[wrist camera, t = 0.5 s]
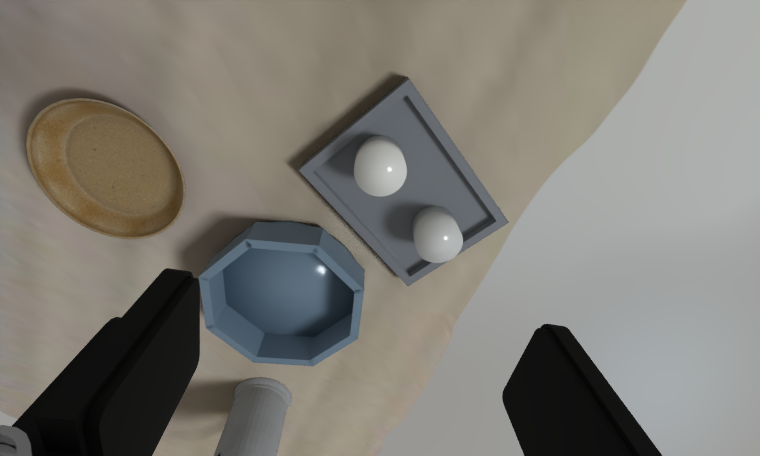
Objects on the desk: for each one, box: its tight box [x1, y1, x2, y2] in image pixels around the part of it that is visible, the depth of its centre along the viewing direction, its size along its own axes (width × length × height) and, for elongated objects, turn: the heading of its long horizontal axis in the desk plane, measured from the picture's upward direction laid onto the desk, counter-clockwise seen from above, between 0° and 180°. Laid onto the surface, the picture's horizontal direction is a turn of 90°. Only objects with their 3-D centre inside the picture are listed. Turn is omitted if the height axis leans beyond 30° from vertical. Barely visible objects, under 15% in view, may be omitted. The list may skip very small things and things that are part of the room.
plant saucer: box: [26, 98, 185, 239], centre depth 37 cm, size 15×15×3 cm
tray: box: [299, 77, 509, 286], centre depth 39 cm, size 14×19×2 cm
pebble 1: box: [354, 135, 407, 197], centre depth 36 cm, size 5×5×4 cm
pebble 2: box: [412, 206, 463, 263], centre depth 39 cm, size 5×5×4 cm
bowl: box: [199, 221, 364, 366], centre depth 43 cm, size 18×18×5 cm
